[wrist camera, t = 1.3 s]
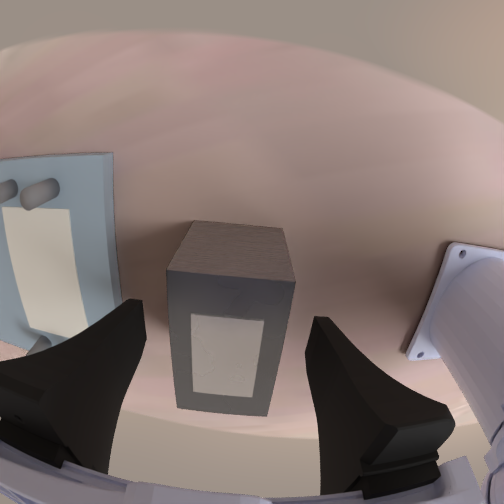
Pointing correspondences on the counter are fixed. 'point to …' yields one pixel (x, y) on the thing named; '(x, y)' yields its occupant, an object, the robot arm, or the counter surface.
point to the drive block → (228, 316)
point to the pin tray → (56, 247)
